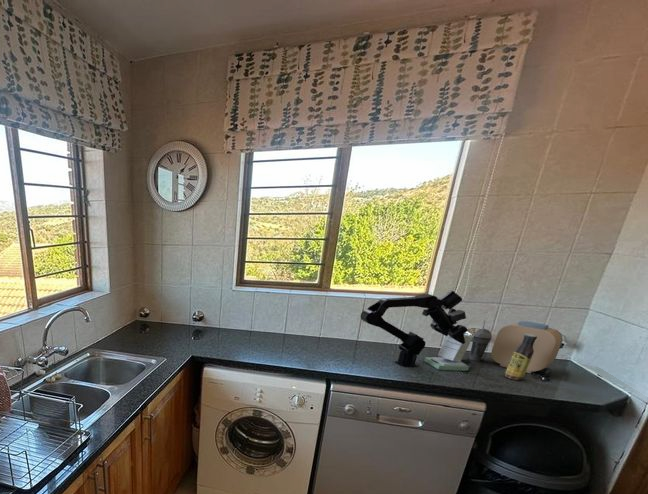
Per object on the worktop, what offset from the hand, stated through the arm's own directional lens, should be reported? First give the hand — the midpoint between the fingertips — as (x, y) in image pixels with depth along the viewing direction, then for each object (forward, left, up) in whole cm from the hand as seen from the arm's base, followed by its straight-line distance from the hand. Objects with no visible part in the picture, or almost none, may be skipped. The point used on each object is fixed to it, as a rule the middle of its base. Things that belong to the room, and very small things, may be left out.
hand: (457, 340), depth 186 cm
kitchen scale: (-2, 0, -13) cm, 13 cm away
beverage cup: (+20, +8, -13) cm, 25 cm away
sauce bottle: (+16, -17, -13) cm, 26 cm away
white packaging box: (-2, 0, -9) cm, 9 cm away
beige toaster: (+30, -5, -13) cm, 33 cm away
